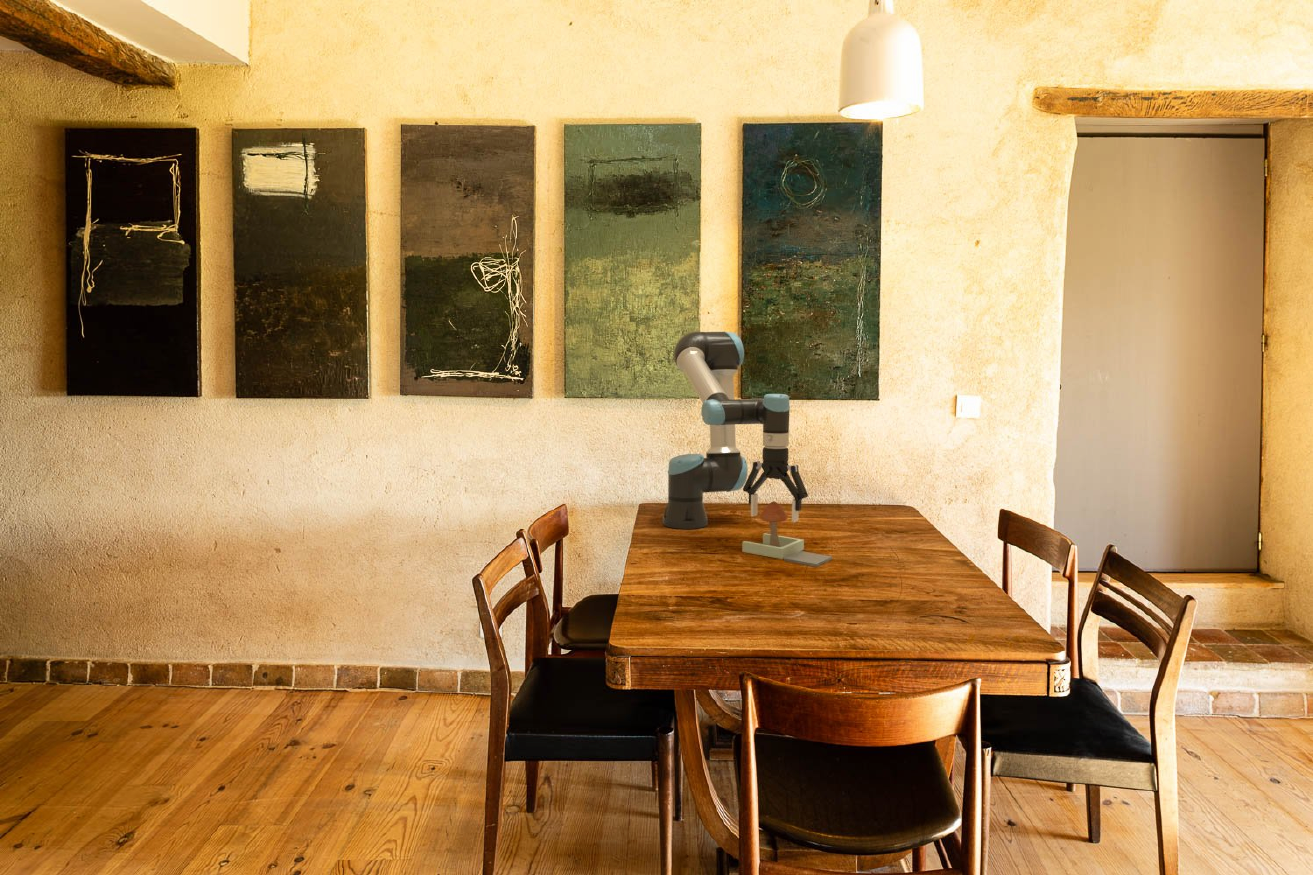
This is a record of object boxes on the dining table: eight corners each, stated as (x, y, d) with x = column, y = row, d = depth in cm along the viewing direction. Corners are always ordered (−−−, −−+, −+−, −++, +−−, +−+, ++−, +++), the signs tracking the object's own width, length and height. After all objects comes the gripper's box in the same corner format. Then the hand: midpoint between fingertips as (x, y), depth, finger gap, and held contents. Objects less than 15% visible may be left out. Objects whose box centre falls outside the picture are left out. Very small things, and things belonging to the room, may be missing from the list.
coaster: (784, 560, 233) (784, 558, 233) (800, 553, 241) (800, 550, 241) (816, 566, 227) (816, 564, 227) (832, 559, 235) (832, 556, 235)
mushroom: (755, 551, 242) (756, 501, 240) (764, 545, 249) (766, 497, 247) (781, 555, 238) (782, 504, 237) (790, 549, 245) (791, 499, 244)
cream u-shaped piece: (742, 551, 242) (742, 541, 242) (764, 542, 253) (765, 533, 253) (782, 559, 235) (782, 548, 234) (803, 549, 245) (804, 539, 245)
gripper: (732, 445, 244) (731, 515, 247) (808, 451, 230) (807, 526, 232) (745, 442, 250) (744, 511, 253) (820, 448, 236) (818, 521, 238)
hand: (774, 518), depth 242 cm, fingers open, 13 cm apart
